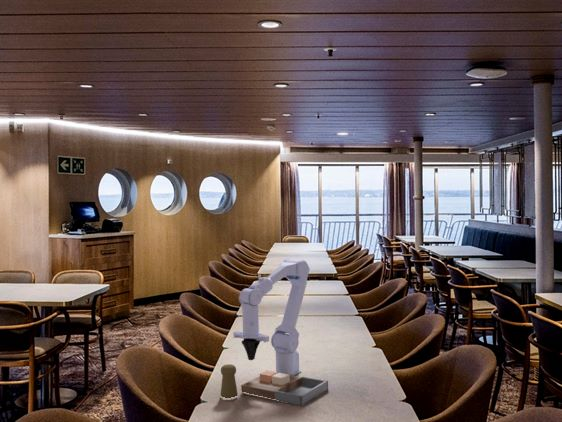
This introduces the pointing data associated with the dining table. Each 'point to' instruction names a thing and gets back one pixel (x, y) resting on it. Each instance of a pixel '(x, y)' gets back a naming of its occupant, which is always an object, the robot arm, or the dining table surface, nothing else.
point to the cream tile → (280, 378)
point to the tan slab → (270, 387)
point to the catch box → (303, 391)
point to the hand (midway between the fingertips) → (251, 359)
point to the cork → (228, 381)
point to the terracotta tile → (267, 376)
